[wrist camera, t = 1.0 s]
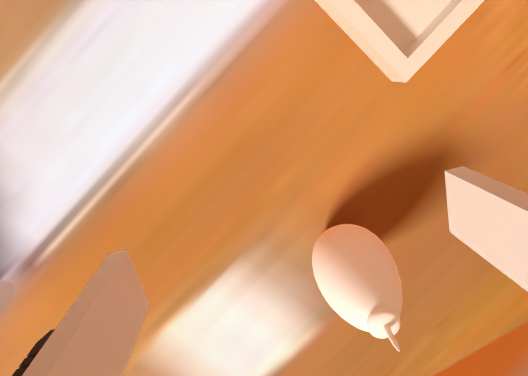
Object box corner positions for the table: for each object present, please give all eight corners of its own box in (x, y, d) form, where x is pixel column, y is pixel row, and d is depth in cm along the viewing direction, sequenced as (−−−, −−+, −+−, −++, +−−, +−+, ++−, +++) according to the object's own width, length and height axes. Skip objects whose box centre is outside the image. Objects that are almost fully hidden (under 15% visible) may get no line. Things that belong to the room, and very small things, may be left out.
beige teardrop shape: (362, 201, 42) (446, 290, 25) (375, 259, 44) (459, 378, 27) (296, 220, 42) (334, 322, 25) (312, 277, 45) (357, 406, 27)
